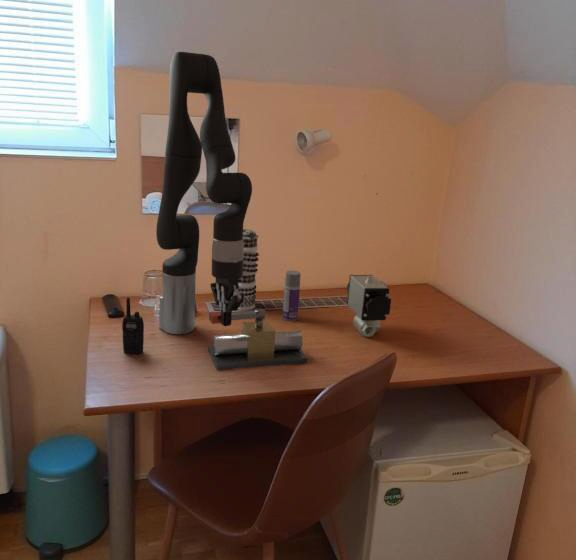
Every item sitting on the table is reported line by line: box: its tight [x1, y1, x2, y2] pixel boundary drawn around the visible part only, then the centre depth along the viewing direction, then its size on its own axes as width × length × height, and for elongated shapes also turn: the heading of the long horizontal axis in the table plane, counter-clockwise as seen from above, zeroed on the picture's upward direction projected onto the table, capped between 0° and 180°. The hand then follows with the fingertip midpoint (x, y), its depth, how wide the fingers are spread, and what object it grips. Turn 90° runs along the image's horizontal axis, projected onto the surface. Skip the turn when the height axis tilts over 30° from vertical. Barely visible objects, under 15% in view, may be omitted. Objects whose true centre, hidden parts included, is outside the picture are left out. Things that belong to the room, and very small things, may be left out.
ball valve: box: [346, 274, 392, 338], centre depth 175 cm, size 18×8×18 cm, turn 14°
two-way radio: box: [121, 297, 145, 355], centre depth 151 cm, size 6×4×15 cm
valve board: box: [207, 319, 309, 371], centre depth 154 cm, size 24×12×11 cm, turn 107°
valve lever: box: [208, 308, 267, 325], centre depth 150 cm, size 14×3×2 cm, turn 112°
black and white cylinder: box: [237, 228, 260, 311], centre depth 189 cm, size 9×9×25 cm
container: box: [282, 270, 301, 322], centre depth 182 cm, size 5×5×15 cm
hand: (226, 324), depth 145 cm, fingers closed
